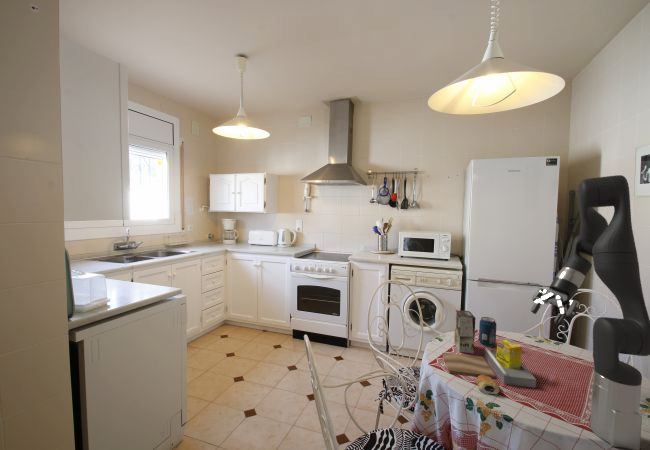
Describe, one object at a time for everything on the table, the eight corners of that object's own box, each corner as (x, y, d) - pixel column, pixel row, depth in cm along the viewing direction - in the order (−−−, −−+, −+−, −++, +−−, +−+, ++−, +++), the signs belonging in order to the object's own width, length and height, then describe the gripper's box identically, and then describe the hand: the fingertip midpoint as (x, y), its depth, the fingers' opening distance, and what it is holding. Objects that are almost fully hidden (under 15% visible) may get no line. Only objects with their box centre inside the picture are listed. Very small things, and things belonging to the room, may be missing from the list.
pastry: (473, 378, 108) (474, 368, 107) (494, 381, 105) (494, 371, 105) (478, 393, 99) (479, 382, 98) (501, 397, 97) (501, 386, 96)
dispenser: (535, 387, 102) (536, 376, 102) (503, 383, 104) (503, 372, 104) (511, 359, 121) (511, 349, 121) (484, 356, 123) (484, 346, 123)
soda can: (482, 339, 140) (483, 315, 139) (497, 344, 135) (499, 319, 134) (476, 343, 136) (477, 318, 135) (492, 349, 130) (493, 323, 130)
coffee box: (474, 353, 125) (476, 317, 125) (458, 352, 127) (460, 316, 126) (468, 344, 134) (469, 310, 134) (453, 342, 136) (455, 309, 135)
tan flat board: (495, 378, 107) (495, 375, 107) (449, 372, 110) (449, 370, 110) (482, 359, 121) (482, 357, 121) (442, 355, 124) (442, 352, 124)
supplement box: (495, 367, 114) (496, 341, 114) (506, 365, 116) (508, 339, 116) (508, 376, 109) (510, 348, 108) (520, 373, 111) (522, 346, 110)
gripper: (543, 271, 114) (521, 305, 113) (583, 283, 100) (558, 322, 100) (553, 280, 116) (531, 313, 116) (594, 294, 103) (569, 331, 102)
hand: (544, 317), depth 108 cm, fingers open, 8 cm apart
